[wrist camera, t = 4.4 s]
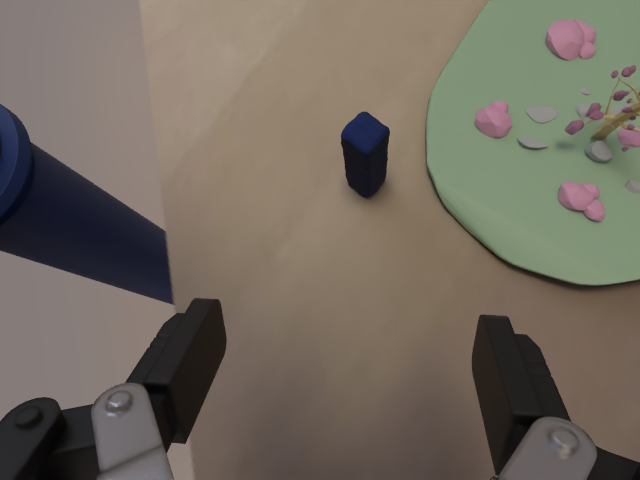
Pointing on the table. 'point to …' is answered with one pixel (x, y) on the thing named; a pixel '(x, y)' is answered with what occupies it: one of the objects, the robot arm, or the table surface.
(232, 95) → the table surface
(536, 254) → the plant
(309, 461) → the table surface
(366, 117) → the eraser
